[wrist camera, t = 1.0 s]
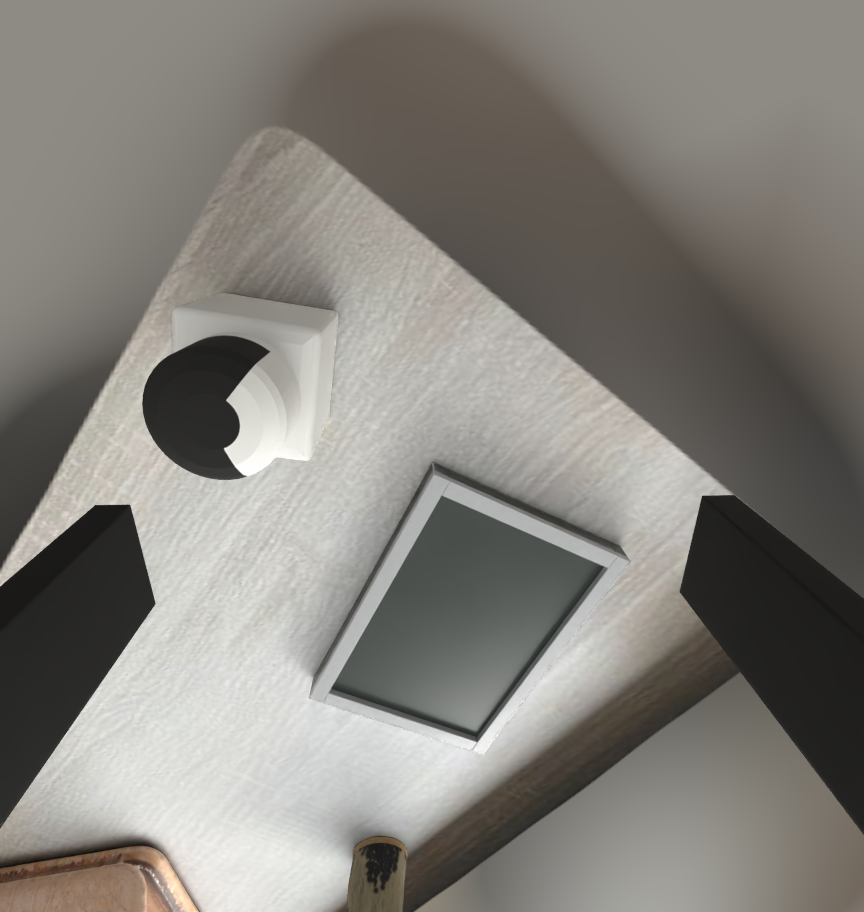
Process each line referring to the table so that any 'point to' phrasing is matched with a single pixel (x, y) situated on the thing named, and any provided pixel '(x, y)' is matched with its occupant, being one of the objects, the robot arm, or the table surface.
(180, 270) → the table surface
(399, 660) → the chalkboard
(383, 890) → the mug
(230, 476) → the medicine bottle
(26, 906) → the case
